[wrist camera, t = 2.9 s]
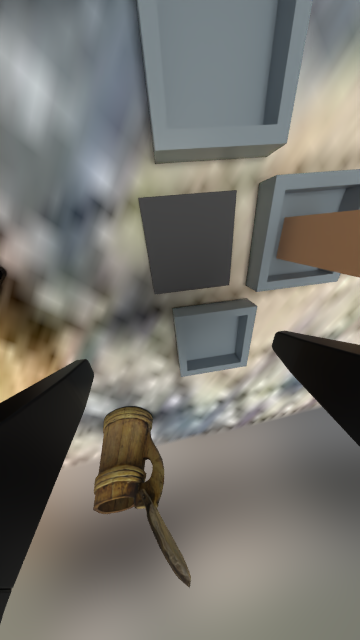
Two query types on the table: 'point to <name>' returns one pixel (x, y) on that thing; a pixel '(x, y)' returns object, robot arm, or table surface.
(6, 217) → the table surface
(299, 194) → the tray
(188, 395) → the table surface
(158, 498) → the wooden mug
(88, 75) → the table surface
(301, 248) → the orange block
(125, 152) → the table surface
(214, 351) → the empty tray
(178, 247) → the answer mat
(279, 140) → the empty tray
